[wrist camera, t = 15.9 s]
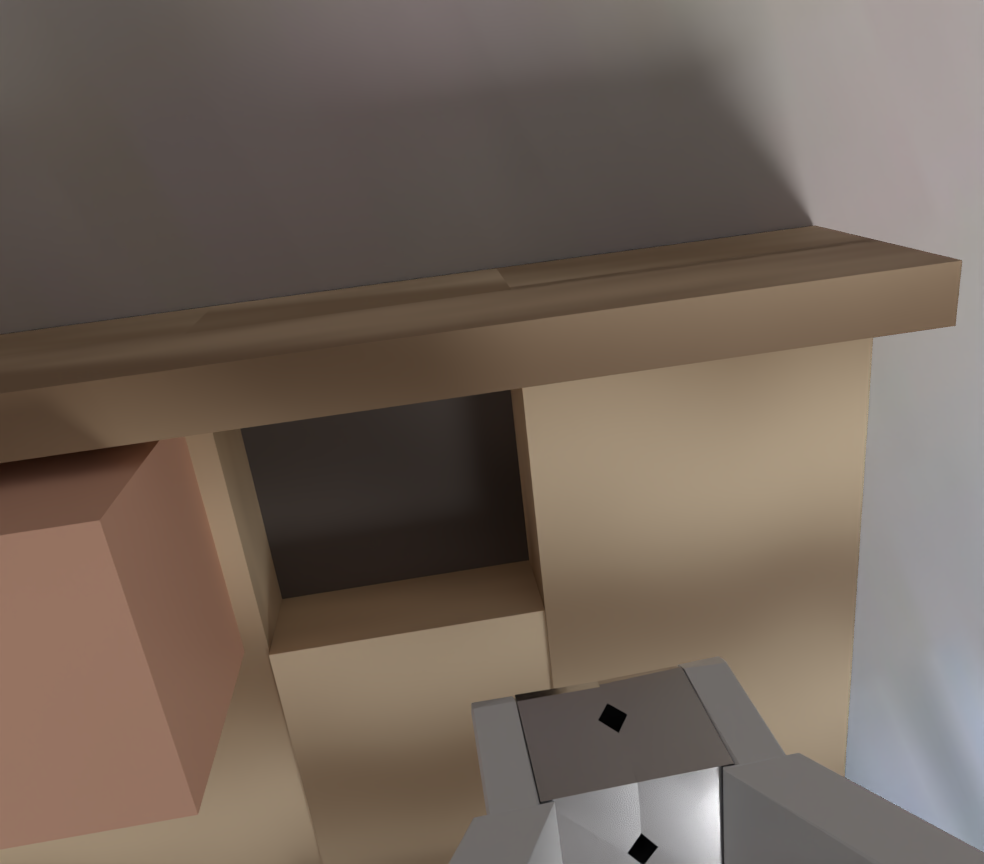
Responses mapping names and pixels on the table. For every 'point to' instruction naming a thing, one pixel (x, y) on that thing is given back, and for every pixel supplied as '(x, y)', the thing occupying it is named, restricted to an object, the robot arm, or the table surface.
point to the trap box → (494, 509)
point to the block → (109, 642)
